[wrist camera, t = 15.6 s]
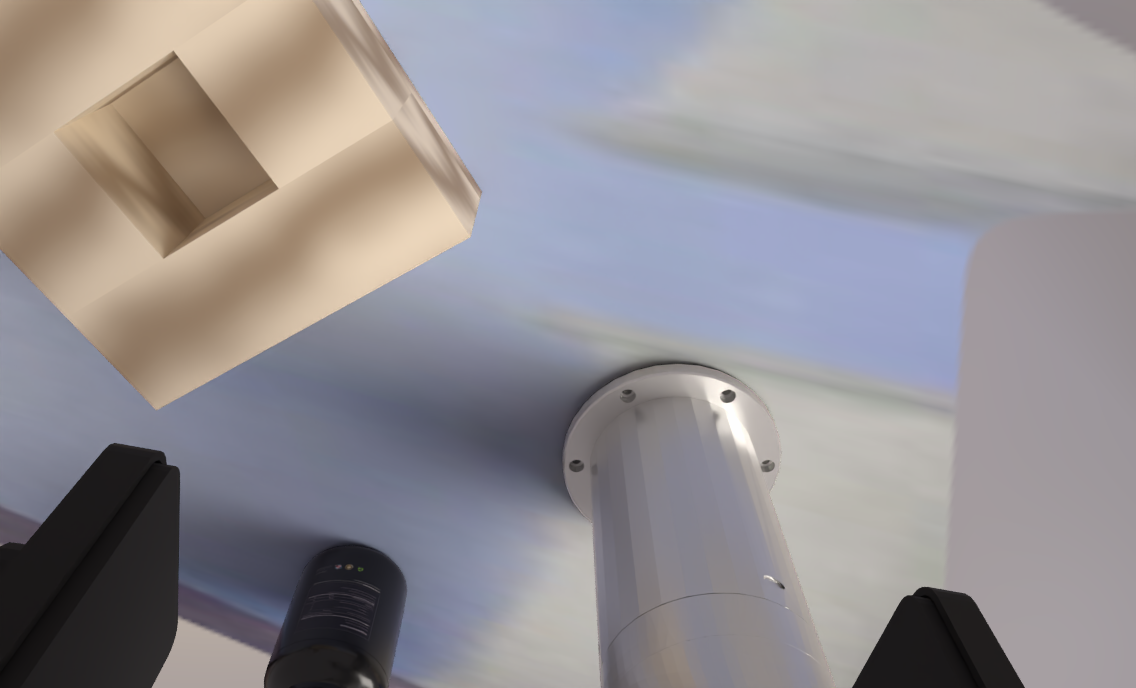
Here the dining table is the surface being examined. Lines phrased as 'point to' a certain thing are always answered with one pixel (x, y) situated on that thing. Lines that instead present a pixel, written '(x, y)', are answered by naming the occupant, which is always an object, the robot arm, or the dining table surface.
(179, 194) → the housing
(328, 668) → the supplement bottle
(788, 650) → the robot arm
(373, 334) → the dining table surface
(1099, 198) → the dining table surface
